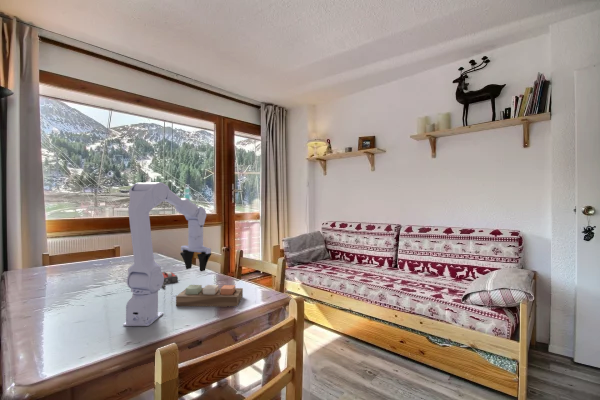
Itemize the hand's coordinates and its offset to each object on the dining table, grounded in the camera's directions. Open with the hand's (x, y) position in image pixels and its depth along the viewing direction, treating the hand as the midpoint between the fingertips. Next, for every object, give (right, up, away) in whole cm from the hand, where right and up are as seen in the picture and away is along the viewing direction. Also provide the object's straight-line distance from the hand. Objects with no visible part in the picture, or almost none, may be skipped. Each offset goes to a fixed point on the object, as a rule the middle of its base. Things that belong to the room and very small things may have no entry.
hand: (195, 269), depth 116 cm
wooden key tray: (+9, -10, -8) cm, 16 cm away
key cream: (+9, -7, -8) cm, 14 cm away
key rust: (+15, -7, -8) cm, 19 cm away
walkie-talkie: (-19, -10, +16) cm, 27 cm away
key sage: (+2, -7, -8) cm, 11 cm away
